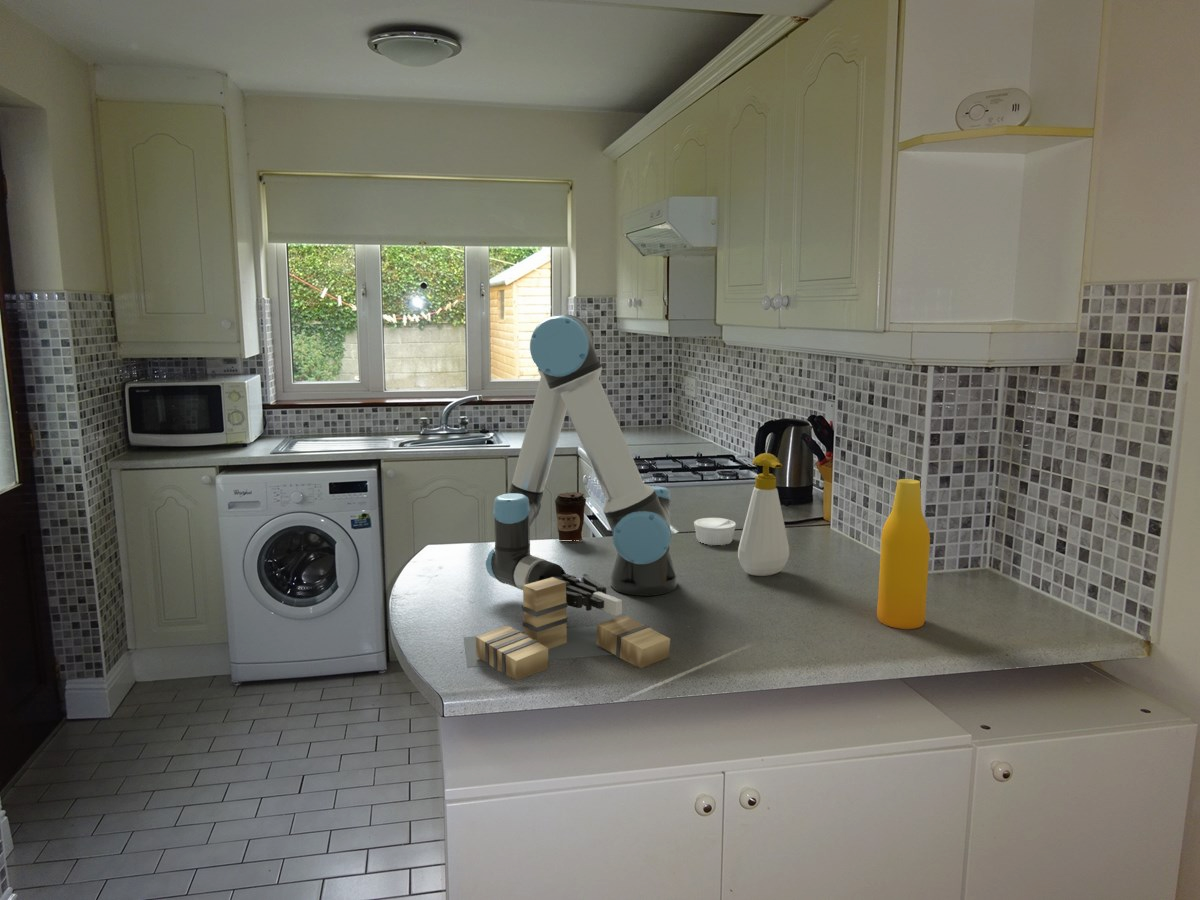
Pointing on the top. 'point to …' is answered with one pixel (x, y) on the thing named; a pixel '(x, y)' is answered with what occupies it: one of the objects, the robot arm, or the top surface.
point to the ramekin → (714, 531)
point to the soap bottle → (764, 525)
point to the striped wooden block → (511, 652)
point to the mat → (577, 645)
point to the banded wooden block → (632, 641)
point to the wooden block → (545, 612)
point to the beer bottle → (904, 560)
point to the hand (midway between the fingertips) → (618, 607)
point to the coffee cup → (570, 516)
